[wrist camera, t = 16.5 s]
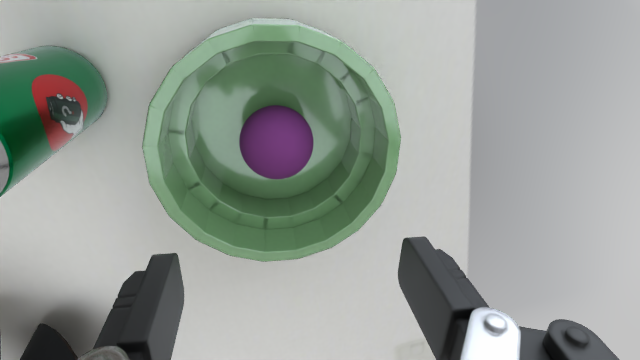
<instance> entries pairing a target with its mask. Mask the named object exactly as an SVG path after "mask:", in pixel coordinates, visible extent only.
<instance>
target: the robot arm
mask: <svg viewBox="0 0 640 360" xmlns="http://www.w3.org/2000/svg"><path fill="white" fill-rule="evenodd" d="M398 280H399V284H400V287H401V289H402V291H403V293H404V295H405V298H406V300H407V302H408V304H409V306H410V308H411V310H412V312H413V314H414V316H415V318H416V320H417V322H418V324H419V326H420V328H421V330H422V332H423V334H424V336H425V338H426V340H427V342H428V344H429V346H430V348H431V350H432V352H433V354H434V356H435V358H436V360H619V359H618V358H617V356H616V355H615V354H613V352H612V351H611V350H610V349H609V348H608V347H607V346H606V345H605V344H604V343H603V341H602V340H601V339H600V338H599V337H598V336H597V335H596V334H595V333H593V332H592V331H591V330H589V329H588V328H586V327H585V326H583V325H581V324H578V323H576V322H573V321H569V320H562V319H561V320H560V319H559V320H555V321H553V322H551V323H550V324H549V327H548V329H547V331H543V330H537V329H531V328H525V327H520V326H518V325H517V323H516V322H515V321H514V320H513V319H512V318H511V317H510V316H508V315H507V314H505V313H504V312H502V311H499V310H497V309H494V308H490V307H489V306H488V305H487V303H486V302H485V301H484V299H483V298H482V297H481V296H480V294H479V293H478V292H477V290H476V289H475V288H474V286H473V285H472V283H471V282H470V281H469V279H468V278H466V275H465V274H464V273H463V271H462V270H460V267H459V266H458V265H457V263H456V262H455V261H454V259H453V258H452V257H450V256H449V255H448V254H446V253H445V252H443V251H442V250H441V249H437V250H435V249H434V248H433V246H432V245H431V243H430V242H429V240H428V239H427V238H426V237H412V238H405V239H404V240H403V243H402V249H401V255H400V262H399V268H398ZM183 305H184V287H183V281H182V275H181V270H180V264H179V259H178V255H177V254H176V253H172V254H157V255H152V257H151V259H150V261H149V264H148V266H147V269H146V271H135V272H134V273H133V274H132V275H131V276H130V277H129V278H128V279H127V280H126V281H125V282H124V283H123V285H122V287H121V289H120V292H119V294H118V298H116V300H115V302H114V305H113V309H111V311H110V313H109V315H108V317H107V320H106V322H105V324H104V326H103V328H102V330H101V333H100V335H99V337H98V339H97V341H96V343H95V345H94V348H93V350H91V351H89V352H87V353H85V354H84V355H82V356H81V357H80V358H78V359H77V360H171V356H172V352H173V348H174V344H175V339H176V335H177V331H178V327H179V322H180V318H181V314H182V310H183Z"/></svg>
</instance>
